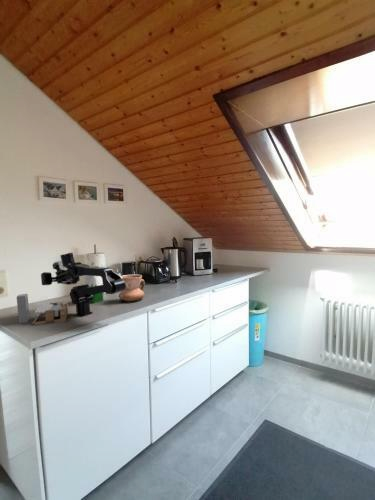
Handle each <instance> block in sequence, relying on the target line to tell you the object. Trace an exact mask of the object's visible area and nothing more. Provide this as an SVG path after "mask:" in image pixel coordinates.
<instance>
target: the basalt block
mask: <svg viewBox="0 0 375 500" xmlns="http://www.w3.org/2000/svg"><path fill="white" fill-rule="evenodd" d="M16 303H17V304H16V305H17V316H18V324H25V323H29V321H30V320H31V319H30V307H29V296H28V293H21V294H18V295H16Z"/></svg>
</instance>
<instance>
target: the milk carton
mask: <svg viewBox="0 0 375 500" xmlns="http://www.w3.org/2000/svg"><path fill="white" fill-rule="evenodd" d="M94 267H100V266H99V265H96V266H94ZM83 278H84V285H85V284H88V286H89V287H93V286H98V285H103V281H102V277H101V276H90V275H84V276H83ZM103 294H104V293H99V294H93V295H92V296H93V300H91V301H89V304H96V303H99V302H100V303H101V302H103V301H104V295H103Z"/></svg>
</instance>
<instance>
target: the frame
mask: <svg viewBox="0 0 375 500" xmlns="http://www.w3.org/2000/svg"><path fill="white" fill-rule="evenodd" d="M49 304H54V305H59V304H58V301H57V302H50V303H49ZM69 312H70V311H69V302H68V301H64V302H63V303H62V304H61V309H60V314H59V316H60V318H59V319H55V316H54V313H53V310H46V311H45V312H38V314H37V316H36V317H35V318H34V320H33V321H32V326H36V325H43V324H53V323H59V322H65V321H66V320H67V319H68V318H67V317H68V315H69ZM41 316H45V320H42V321H41V320H40V321H38V320H39V319H40V318H41Z"/></svg>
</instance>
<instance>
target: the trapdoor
mask: <svg viewBox="0 0 375 500" xmlns="http://www.w3.org/2000/svg"><path fill="white" fill-rule="evenodd" d="M61 307H62V304H58V305H54V304H50V303H49V304H48V303H47V304H39V306H38V307H37V308H36V309H35V311H34V312H35V313H45V311H46V310H53V313H54V317H59V316H60V309H61Z"/></svg>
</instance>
